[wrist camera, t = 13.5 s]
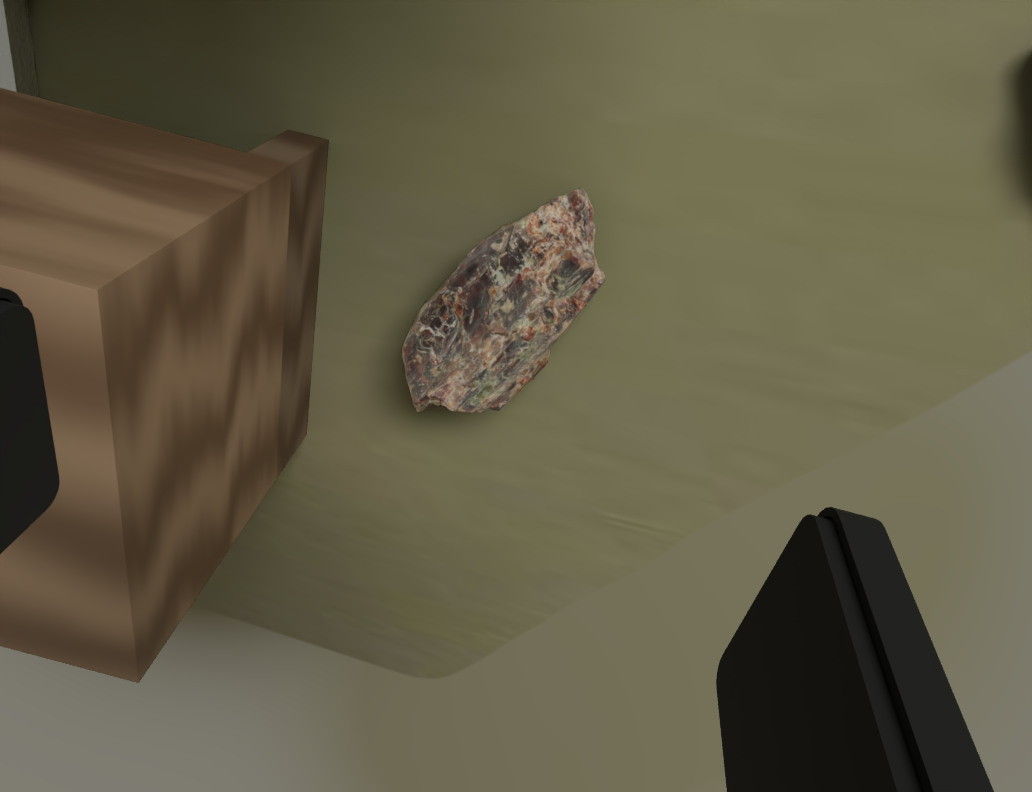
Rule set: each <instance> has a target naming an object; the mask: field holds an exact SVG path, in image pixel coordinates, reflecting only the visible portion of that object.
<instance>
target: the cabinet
mask: <svg viewBox="0 0 1032 792" xmlns="http://www.w3.org/2000/svg"><path fill="white" fill-rule="evenodd" d="M328 143H329V140H326V139H322V138H318V137H314V136H311V135H307V134H303V133H299V132H295V131H292V130H287V131H285V132H284V133H282V134H280V135H278V136H276V137H274V138H272V139H271V140H269V141H267V142H265V143H263V144H261V145H260V146H258V147H256V148H254V149H252V150H250V151H249V152H243V151H239V150H235V149H231V148H228V147H224V146H220V145H216V144H212V143H209V142H205V141H201V140H197V139H193V138H190V137H186V136H182V135H178V134H174V133H171V132H167V131H163V130H159V129H156V128H152V127H148V126H144V125H140V124H137V123H133V122H129V121H125V120H121V119H118V118H114V117H110V116H106V115H102V114H99V113H95V112H91V111H87V110H83V109H80V108H76V107H72V106H68V105H64V104H61V103H57V102H53V101H49V100H45V99H42V98H38V97H34V96H30V95H26V94H23V93H19V92H15V91H11V90H7V89H4V88H0V287H2V288H6V289H10V290H11V291H13V292H15V293H17V295H18V296H19V297H20V299H21V300H22V303H23V306H24V307H26V308H28V309H29V310H30V312H31V313H32V315H33V318H34V323H35V329H36V335H37V341H38V348H39V354H40V360H41V366H42V372H43V379H44V385H45V391H46V397H47V404H48V410H49V416H50V422H51V428H52V435H53V441H54V447H55V453H56V459H57V466H58V472H59V480H60V484H59V489H58V492H57V495H56V497H55V499H54V501H53V503H52V504H51V505H50V507H49V508H48V509H47V510H46V511H45V512H44V513H43V514H42V515H41V516H40V517H39V518H38V519H37V520H36V521H34V522H33V523H32V524H31V525H30V526H29V527H28V528H27V529H26V530H25V531H24V532H23V533H22V534H21V535H20V536H19V537H18V538H17V539H16V540H15V541H14V542H13V543H12V544H11V545H10V546H8V547H7V548H6V549H5V550H4V551H3V552H2V553H1V554H0V646H3V647H6V648H10V649H14V650H18V651H21V652H25V653H29V654H32V655H36V656H40V657H44V658H47V659H51V660H55V661H58V662H63V663H66V664H70V665H73V666H77V667H81V668H85V669H88V670H92V671H96V672H99V673H104V674H107V675H111V676H114V677H118V678H122V679H126V680H129V681H133V682H137V683H139V682H140V680H141V679H142V677H143V676H144V674H145V673H146V671H147V670H148V668H149V667H150V665H151V664H152V662H153V661H154V659H155V658H156V656H157V655H158V654H159V652H160V651H161V649H162V648H163V646H164V645H165V643H166V642H167V640H168V639H169V637H170V636H171V634H172V633H173V631H174V630H175V628H176V627H177V625H178V624H179V622H180V621H181V619H182V618H183V616H184V615H185V613H186V612H187V611H188V609H189V608H190V606H191V605H192V603H193V602H194V600H195V599H196V597H197V596H198V594H199V593H200V591H201V590H202V588H203V587H204V585H205V584H206V582H207V581H208V579H209V578H210V576H211V575H212V574H213V572H214V571H215V569H216V568H217V566H218V565H219V563H220V562H221V560H222V559H223V557H224V556H225V554H226V553H227V551H228V550H229V548H230V547H231V545H232V544H233V542H234V541H235V539H236V538H237V536H238V535H239V533H240V532H241V531H242V529H243V528H244V526H245V525H246V523H247V522H248V520H249V519H250V517H251V516H252V514H253V513H254V511H255V510H256V508H257V507H258V505H259V504H260V502H261V501H262V499H263V498H264V496H265V495H266V493H267V492H268V491H269V489H270V488H271V486H272V485H273V483H274V482H275V480H276V479H277V477H278V476H279V474H280V473H281V471H282V470H283V468H284V467H285V465H286V464H287V462H288V461H289V459H290V458H291V456H292V455H293V453H294V452H295V450H296V449H297V448H298V446H299V445H300V443H301V442H302V440H303V439H304V437H305V436H306V434H307V422H308V409H309V395H310V382H311V369H312V356H313V342H314V329H315V316H316V303H317V289H318V276H319V263H320V249H321V236H322V223H323V210H324V196H325V183H326V170H327V157H328Z"/></svg>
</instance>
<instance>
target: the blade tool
mask: <svg viewBox="0 0 1032 792" xmlns="http://www.w3.org/2000/svg"><path fill="white" fill-rule="evenodd" d="M0 88H4V89H7V90H11V91H15V92H19V93H23V94H26V95H30V96H34V97H38V98H40V96H39V89H38V81H37V73H36V66H35V58H34V51H33V43H32V36H31V28H30V20H29V13H28V5H27V0H0Z"/></svg>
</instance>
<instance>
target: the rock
mask: <svg viewBox="0 0 1032 792" xmlns="http://www.w3.org/2000/svg"><path fill="white" fill-rule="evenodd" d="M594 215H595V212H594V209H593V206H592V205H591V203H590V201H589V198H588V195H587V194H586V193H585V191H584V190H583V189H582V188H579V189H576V190H574V191H571V192H569V193H567V194H564V195H560V196H558V197H555V198H552V199H550V200H549V201H548V202H547V203H546V204H544V205H543V206H541V207H540V208H539V209H538V210H536V211H535V212H534V213H533V212H532V213H530V214H529V215H527V216H526V217H524V218H522V219H520V220H518V221H517V222H512V223H507V224H506V225H504V226H502V227H501V228H499V229H498V230H496V231H495V232H494V233H492V235H491V236H490V237H488V238H486V239H484V240H483V241H482V242H480V243H479V244H478V245H477V246H476V247H475V248H474V249H473V250H472V251H471V252H470V253H469V254H468V255H467V256H466V258H465V260H463V261H462V262H461V263H460V265H459V267H458V268H457V269H456V270H455V271H454V272H453V273H452V274H451V275H450V276H449V277H448V278H447V279H445V281H444V282H443V283H442V284H441V286H440V287H439V288H438V289H437V291H436V292H435V293H434V294H433V295H432V296H431V298H430V299H429V300H427V301H425V303H424V304H423V306H422V307H421V309H420V311H419V313H418V316H417V317H416V319H415V320H414V322H413V324H412V326H411V328H410V330H409V332H408V334H407V336H406V338H405V340H404V343H403V346H402V352H401V353H402V359H403V364H404V369H405V376H406V381H407V384H408V386H409V389H410V393H411V397H412V403H413V405H414V407H415V408H416V411H417V412H420V411H421V412H422V411H423V410H424V409H426V408H427V407H432V408H433V407H436V406H440V405H443V406H446V407H447V408H448V409H449V410H451V411H454V412H456V411H460V412H475V411H477V412H478V413H480V412H484V411H485V410H487V409H492V410H496V411H499V410H500V409H501V408H502V407H503V406H504V405H505V404H506V403H507V402H508V401H510V400H511V399H512V397H513V396H514V395H516V394H517V393H518V392H519V391H520V390H521V389H522V387H523V386H524V385H526V384H527V383H529V382H530V381H532V380H533V379H534V377H535V376H536V375H537V374H538V373H539V372H540V371H541V370H542V369H543V368H544V367H545V365H546V364H547V363H548V360H547V359H548V358H549V356H550V354H551V352H550V346H551V345H552V344H553V343H554V342H555V341H556V340H557V339H558V338H559V337H560V336H561V334H562V333H563V332H564V331H565V330H566V328H567V327H568V326H569V324H570V323H571V322H572V321H573V320H574V318H575V317H576V316H577V314H578V313H579V312H580V311H581V310H582V309H583V308H584V307H585V306H586V304H587V303H588V302H589V301H590V299H591V298H592V297H593V296H594V294H595V293H596V292H597V291H598V289H599V288H600V287H601V285H602V284H603V283H604V281H605V275H604V273H603V272H602V271H601V270H600V269H599V268H598V265H597V261H596V257H595V256H594V235H595V228H596V226H595V224H594V223H593V221H592V217H593V216H594Z"/></svg>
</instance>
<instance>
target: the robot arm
mask: <svg viewBox="0 0 1032 792" xmlns="http://www.w3.org/2000/svg"><path fill="white" fill-rule="evenodd" d="M59 484H60V480H59V472H58V466H57V459H56V453H55V447H54V441H53V435H52V428H51V422H50V416H49V410H48V404H47V397H46V391H45V385H44V379H43V372H42V366H41V360H40V354H39V348H38V341H37V335H36V329H35V323H34V318H33V315H32V313H31V312H30V310H29V309H28V308H26V307H24V306H23V303H22V300H21V299H20V297H19V296H18V295H17V293H15V292H13V291H11V290H10V289H6V288H2V287H0V554H1V553H2V552H3V551H4V550H5V549H6V548H7V547H8V546H10V545H11V544H12V543H13V542H14V541H15V540H16V539H17V538H18V537H19V536H20V535H21V534H22V533H23V532H24V531H25V530H26V529H27V528H28V527H29V526H30V525H31V524H32V523H33V522H34V521H36V520H37V519H38V518H39V517H40V516H41V515H42V514H43V513H44V512H45V511H46V510H47V509H48V508H49V507H50V505H51V504H52V503H53V501H54V499H55V497H56V495H57V492H58V489H59ZM716 684H717V697H718V706H719V716H720V727H721V737H722V746H723V756H724V767H725V777H726V787H727V792H994V791H993V788H992V786H991V784H990V781H989V779H988V776H987V774H986V772H985V769H984V767H983V764H982V762H981V759H980V757H979V755H978V752H977V750H976V747H975V745H974V742H973V740H972V738H971V735H970V733H969V730H968V728H967V726H966V723H965V721H964V718H963V716H962V714H961V711H960V709H959V706H958V704H957V701H956V699H955V696H954V694H953V692H952V689H951V687H950V684H949V682H948V679H947V677H946V675H945V672H944V670H943V667H942V665H941V662H940V660H939V658H938V655H937V653H936V650H935V648H934V646H933V643H932V641H931V638H930V636H929V633H928V631H927V629H926V626H925V624H924V622H923V619H922V617H921V614H920V612H919V609H918V607H917V604H916V602H915V600H914V597H913V595H912V592H911V590H910V587H909V585H908V583H907V580H906V578H905V575H904V573H903V570H902V568H901V566H900V563H899V561H898V558H897V556H896V554H895V551H894V549H893V546H892V544H891V541H890V540H889V537H888V534H887V532H886V530H885V527H884V526H883V524H882V523H881V522H880V521H878V520H877V519H874V518H870V517H867V516H863V515H859V514H855V513H851V512H848V511H844V510H840V509H836V508H832V507H829V508H825V509H824V510H822V511H821V512H820V513H819V515H818V516H814V515H807V516H805V517H804V518H803V519H802V520H801V522H800V523H799V525H798V526H797V528H796V530H795V531H794V533H793V535H792V537H791V538H790V540H789V542H788V544H787V545H786V547H785V549H784V550H783V552H782V554H781V555H780V557H779V559H778V561H777V562H776V564H775V566H774V568H773V569H772V571H771V573H770V574H769V576H768V578H767V580H766V581H765V583H764V585H763V586H762V588H761V590H760V592H759V593H758V595H757V597H756V599H755V600H754V602H753V604H752V606H751V607H750V609H749V610H748V612H747V614H746V616H745V617H744V619H743V621H742V623H741V624H740V626H739V628H738V630H737V631H736V633H735V635H734V636H733V638H732V640H731V642H730V643H729V645H728V647H727V648H726V650H725V652H724V654H723V655H722V658H721V660H720V663H719V666H718V672H717V680H716Z"/></svg>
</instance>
